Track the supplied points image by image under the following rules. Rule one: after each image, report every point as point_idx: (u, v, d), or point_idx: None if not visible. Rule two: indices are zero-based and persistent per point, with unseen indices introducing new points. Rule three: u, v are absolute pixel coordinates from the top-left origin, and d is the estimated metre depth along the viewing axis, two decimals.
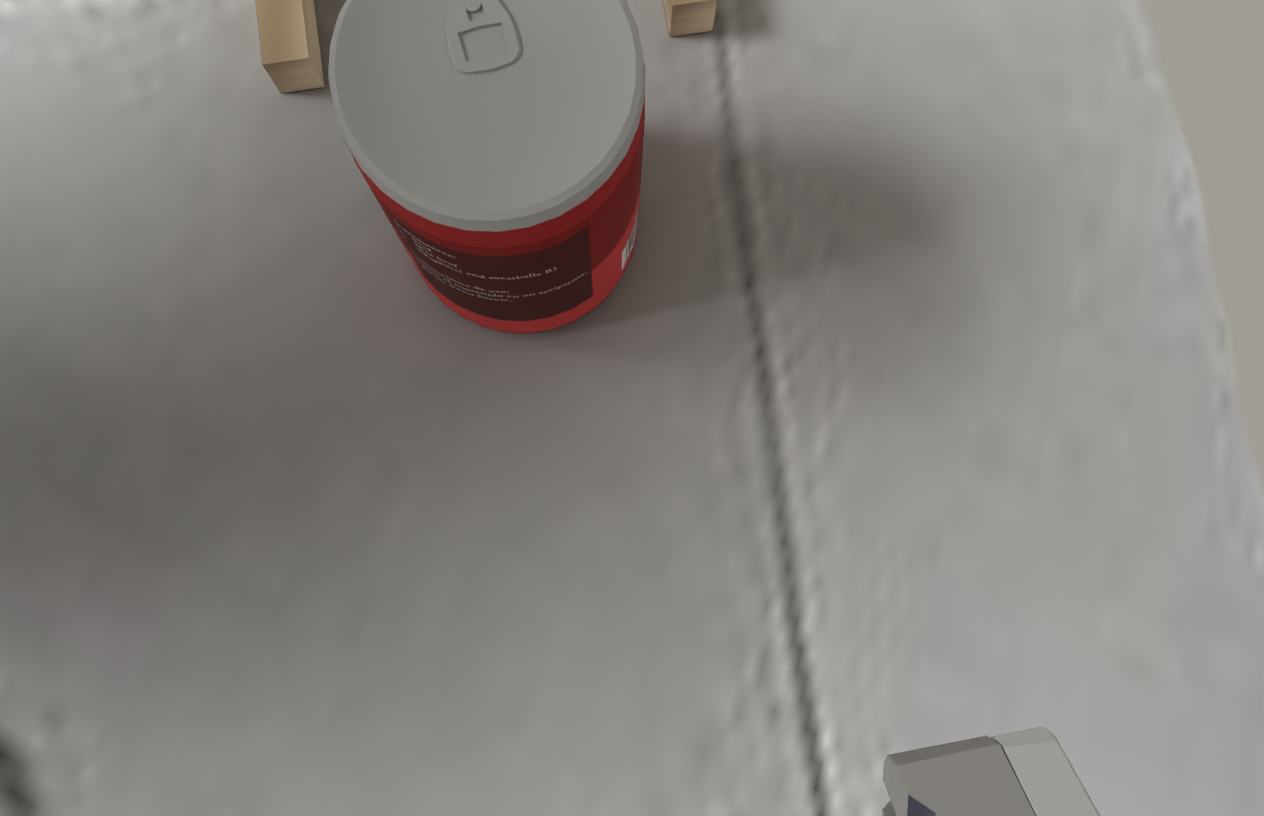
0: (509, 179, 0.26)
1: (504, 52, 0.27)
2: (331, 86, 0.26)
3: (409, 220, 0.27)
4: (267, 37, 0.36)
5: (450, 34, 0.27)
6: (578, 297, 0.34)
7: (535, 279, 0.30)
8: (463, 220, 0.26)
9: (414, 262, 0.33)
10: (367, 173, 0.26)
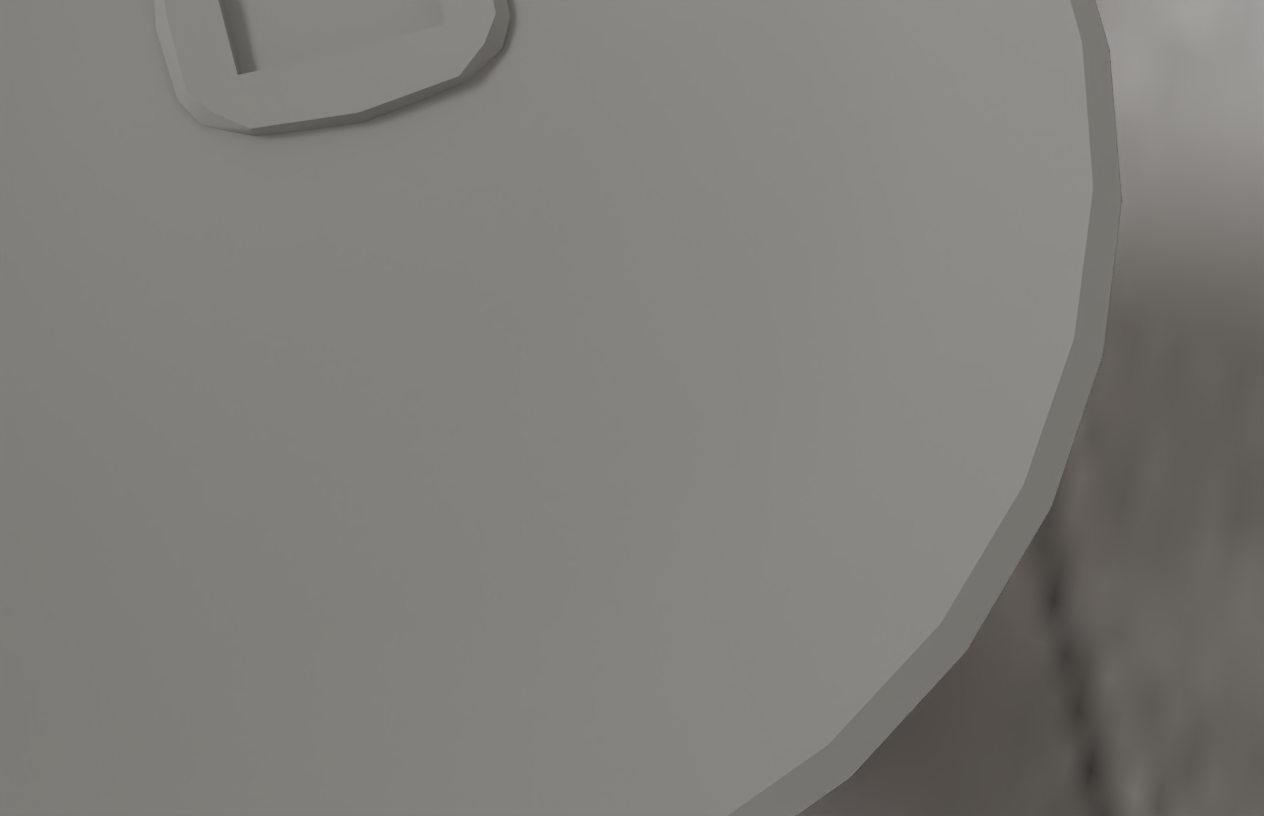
0: (446, 696, 0.05)
1: (424, 30, 0.06)
2: None
3: None
4: None
5: None
6: None
7: None
8: None
9: None
10: None
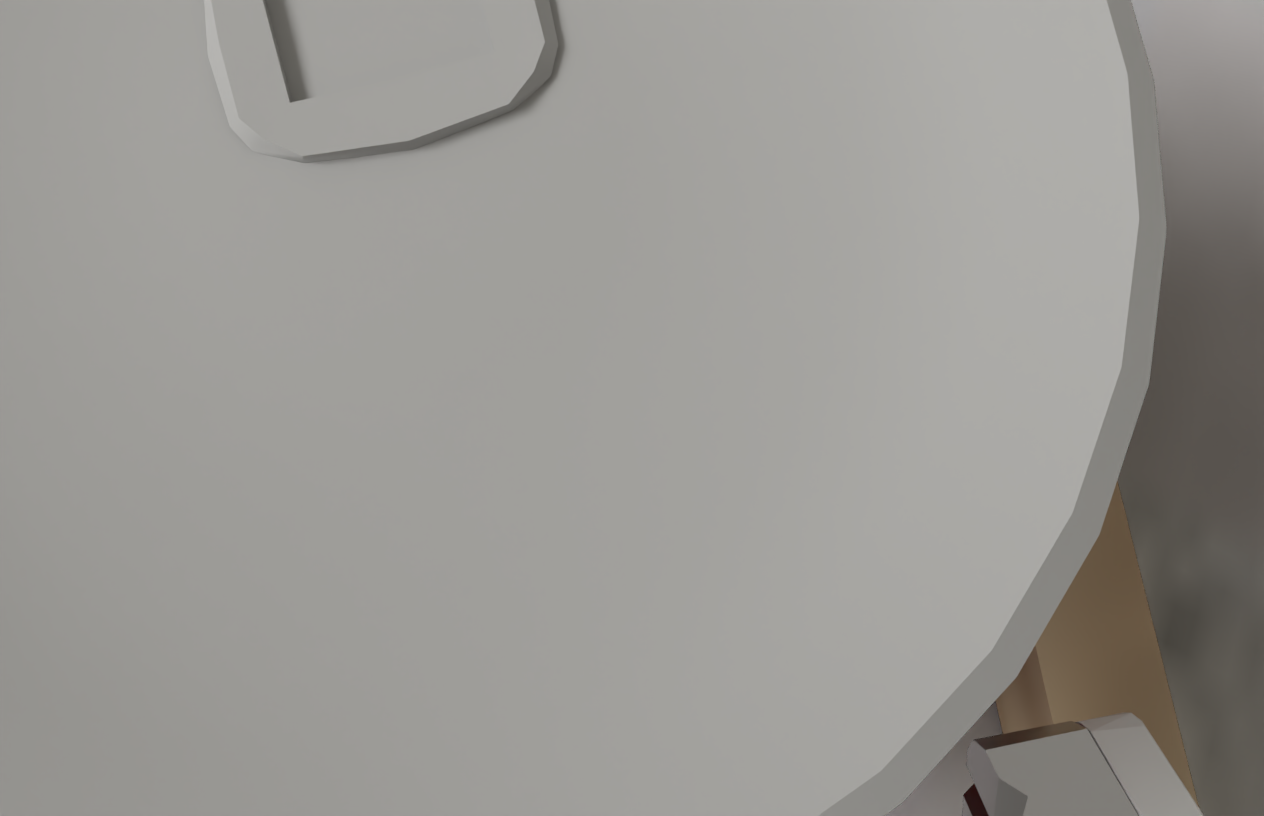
0: (499, 719, 0.05)
1: (475, 60, 0.06)
2: None
3: None
4: None
5: None
6: None
7: None
8: None
9: None
10: None
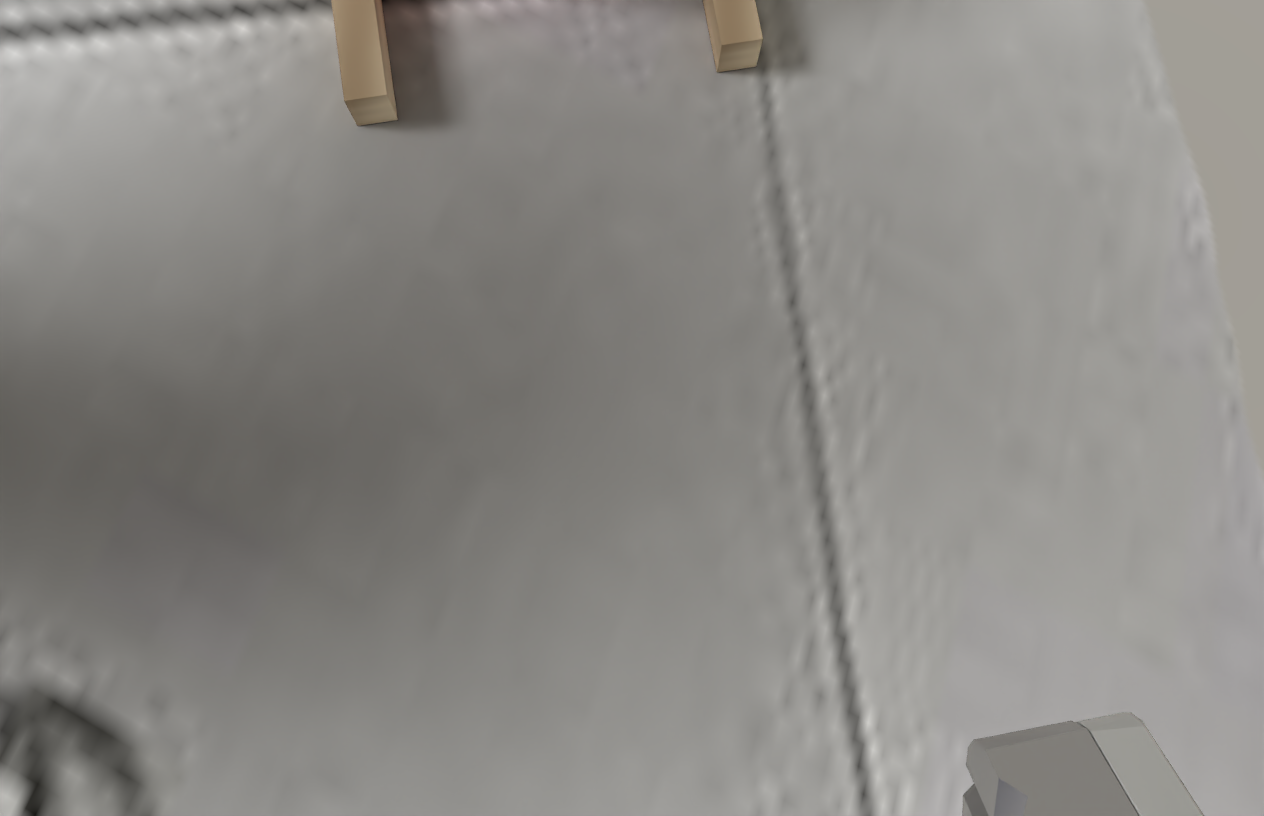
0: None
1: None
2: None
3: None
4: (348, 75, 0.39)
5: None
6: None
7: None
8: None
9: None
10: None
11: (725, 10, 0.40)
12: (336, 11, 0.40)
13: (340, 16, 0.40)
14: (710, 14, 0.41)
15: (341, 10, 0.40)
